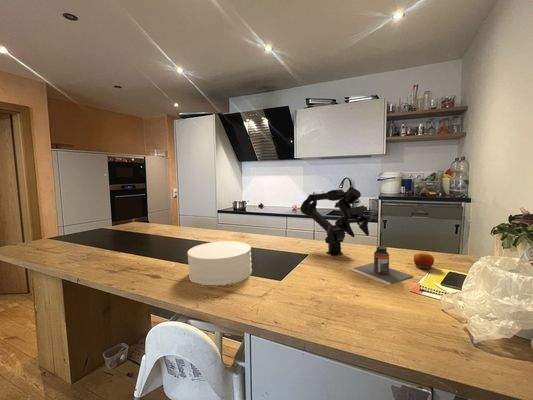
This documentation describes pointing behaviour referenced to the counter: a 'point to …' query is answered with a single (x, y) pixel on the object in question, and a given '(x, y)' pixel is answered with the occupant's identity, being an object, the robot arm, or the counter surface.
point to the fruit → (423, 260)
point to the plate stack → (219, 263)
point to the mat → (386, 279)
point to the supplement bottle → (381, 261)
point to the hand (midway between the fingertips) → (361, 236)
